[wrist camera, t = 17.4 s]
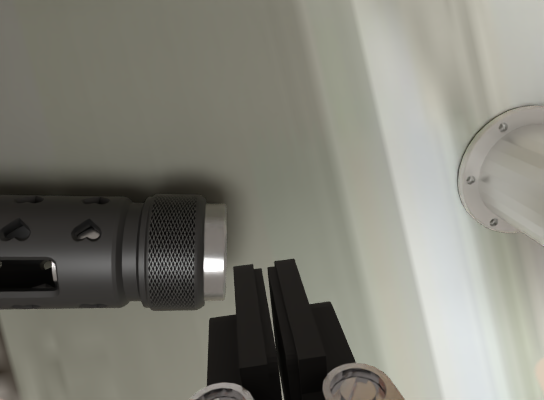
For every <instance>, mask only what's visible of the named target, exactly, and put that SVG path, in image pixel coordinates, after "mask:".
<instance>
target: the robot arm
mask: <svg viewBox="0 0 544 400" xmlns="http://www.w3.org/2000/svg"><path fill="white" fill-rule="evenodd" d="M499 125H500V126H499ZM458 188H459V195H460V198H461V201H462V204H463V205H464V207H465V209H466V211H467V212H468V213H469V214H470V215H471V216H472V217H473V219H475V220H476V221H477V222H479V223H480V224H481V225H483V226H485V227H487V228H488V229H491V230H494V231H498V232H503V233H516V232H523V233H524V234H526V235H527V236H529V237H530V238H532V239H533V240H535V241H536V242H538V243H539V244H541V245H542V246H544V106H525V107H519V108H516V109H513V110H510V111H507V112H505V113H504V114H502V115H500V116H498V117H496V118H495V119H493V120H492V121H491V122H489V123H488V124H487V125H485V126H484V128H483V129H482V130H481V131H480V132H479V133H478V134H477V135H476V136H475V137H474V139H473V140H472V142H471V143H470V144H469V146H468V148H467V150H466V152H465V154H464V156H463V158H462V162H461V165H460V168H459V176H458ZM274 264H275V267H268V278H269V288H270V298H271V307H272V317H273V326H274V336H275V342H274V337H273V331H272V325H271V320H270V314H269V308H268V303H267V297H266V291H265V286H264V280H263V275H262V269H261V268H260V269H254V268H253V264H250V265H243V266H235V267H233V269H234V286H235V303H236V315H229V316H222V317H215V318H210V320H209V342H208V371H207V387H204V388H202V389H201V390H199V391H198V392H196V393H195V394H194V395H193V396H192V397H191V398H190V399H189V400H282V395H281V385H280V377H281V383H282V389H283V394H284V400H405V399H404V398H403V396H402V395H401V393H400V392H399V391H398V389H397V388H396V386H395V385H394V384H393V382H392V381H391V379H390V378H389V377H388V376H387V375H386V374H385V373H384V372H382V371H381V370H379V369H377V368H376V367H373V366H370V365H367V364H361V363H356V362H355V359H354V357H353V355H352V352H351V350H350V347H349V345H348V342H347V340H346V338H345V335H344V333H343V330H342V328H341V325H340V323H339V321H338V318H337V316H336V313H335V311H334V309H333V306H332V304H331V302H322V303H315V304H309V302H308V299H307V296H306V293H305V290H304V287H303V284H302V281H301V278H300V275H299V272H298V269H297V266H296V263H295V260H294V259H288V260H281V261H275V262H274ZM275 345H276V348H275ZM278 366H279V367H278ZM279 372H280V376H279Z"/></svg>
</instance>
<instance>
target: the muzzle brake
mask: <svg viewBox="0 0 544 400" xmlns="http://www.w3.org/2000/svg"><path fill="white" fill-rule="evenodd" d="M226 257H227V210H226V205H225V204H210V203H206V198H204V197H203V196H201V195H198V194H155V195H154V196H153V197H147V199H146V201H145V202H144V203H133V202H132V201H131V199H129V198H127V197H111V196H46V195H0V261H1V262H2V266H1V268H0V309H62V308H121V307H123V306H125V305H127V304H128V303H129V302H130V301H141V302H142V304H143V306H144V307H145V308H150V309H151V310H153V311H176V310H198V309H200V308H201V307H203V306H204V303H205V301H223V300H224V299H225V293H226ZM48 260H49V261H52V268H49V269H47V270H45V269H44V264H45V263H46V262H47V261H48Z"/></svg>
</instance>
